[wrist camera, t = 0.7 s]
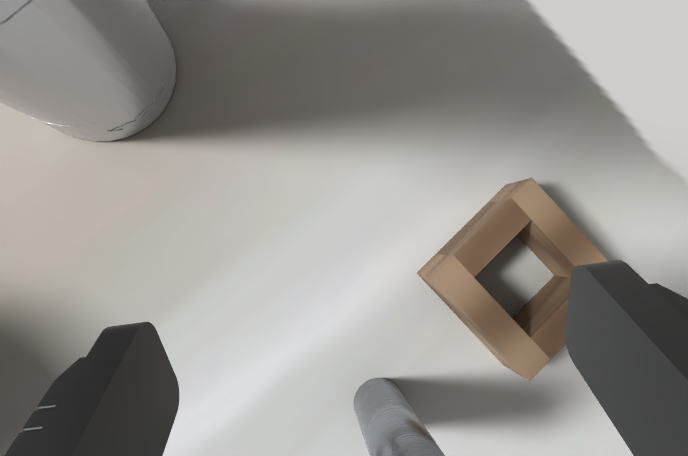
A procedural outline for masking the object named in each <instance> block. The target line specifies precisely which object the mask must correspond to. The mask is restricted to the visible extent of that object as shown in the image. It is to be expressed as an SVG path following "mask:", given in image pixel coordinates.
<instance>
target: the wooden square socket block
mask: <svg viewBox="0 0 688 456" xmlns="http://www.w3.org/2000/svg"><path fill="white" fill-rule="evenodd" d="M516 235H518V236H519V237H520V238H521V239H522V241H523V242H524V243H525V244H526V245H527V246H528V247H529V248H530V249H531V250H532V251H533V252H534V254H535V255H536V256H537V257H538V258H539V259H540V260H541V261H542V262H543V263H544V264H545V265H546V267H547V268H548V269H549V270H550V271H551V272H552V273H553V274H554V275H555V276H554V277H553V278H552V279H551V280H550V281H549V282H548V283H547V284H546V285H545V286H544V287H543V288H542V289H541V290H540V291H539V292H538V293H537V294H536V295H535V296H534V297H533V298H532V299H531V300H530V301H529V302H528V303H527V305H526V306H525V307H524V308H523V309H522V310H521V311H520V312H519V313H518V314H517V315H516V316H515V317H514V318H513V319H512V318H511V317H510V315H509V314H508V313H507V312H506V311H505V310H504V309H503V308H502V307H501V306H500V305H499V304H498V303H497V302H496V301H495V299H494V298H493V297H492V296H491V295H490V294H489V293H488V292H487V291H486V290H485V289H484V288H483V287H482V286H481V284H480V283H479V282H478V281H477V280H476V279H475V278H474V277H475V276H476V275H477V274H478V273H479V272H480V271H481V270H482V269H483V268H484V267H485V266H486V265H487V264H488V263H489V262H490V261H491V260H492V259H493V258H494V257H495V256H496V255H497V254H498V253H499V252H500V251H501V250H502V249H503V248H504V247H505V246H506V245H507V244H508V243H509V242H510V241H511V240H512V239H513V238H514V237H515V236H516ZM601 262H608V260H607V259H606V258H605V257H604V256H603V255H602V254H601V253H600V252H599V251H598V249H597V248H596V247H595V246H594V245H593V244H592V243H591V242H590V241H589V240H588V238H587V237H586V236H585V235H584V234H583V233H582V232H581V231H580V230H579V229H578V228H577V226H576V225H575V224H574V223H573V222H572V221H571V220H570V219H569V218H568V217H567V215H566V214H565V213H564V212H563V211H562V210H561V209H560V208H559V207H558V206H557V205H556V203H555V202H554V201H553V200H552V199H551V198H550V197H549V196H548V195H547V194H546V192H545V191H544V190H543V189H542V188H541V187H540V186H539V185H538V184H537V183H536V182H535V180H534V179H533V178H529V179H526V180H522V181H518V182H515V183H511V184H508V185H506V186H505V187H503V188H502V189H501V190H500V191H499V192H498V193H497V194H496V195H495V196H494V197H493V198H492V199H491V200H490V201H489V202H488V203H487V204H486V205H485V206H484V207H483V208H482V209H481V210H480V211H479V212H478V213H477V214H476V215H475V216H474V217H473V218H472V219H471V220H470V221H469V222H468V223H467V224H466V225H465V226H464V227H463V228H462V229H461V230H460V231H459V232H458V233H457V234H456V235H455V236H454V237H453V238H452V239H451V240H450V241H449V242H448V243H447V244H446V245H445V246H444V247H443V248H442V249H441V250H440V251H439V252H438V253H437V254H436V255H435V256H434V257H433V258H432V259H431V260H430V261H428V262H427V263H426V264H425V265H424V266H423V267H422V268H421V269H420V270H419V271H418V272H417V274H418V275H419V276H420V277H421V278H422V279H423V280H424V281H425V282H426V283H427V284H428V285H429V286H430V287H431V289H432V290H433V291H434V292H435V293H436V294H437V295H438V296H439V297H440V298H441V299H442V300H443V301H444V302H445V303H446V304H447V306H448V307H449V308H450V309H451V310H452V311H453V312H454V313H455V314H456V315H457V316H458V317H459V318H460V319H461V320H462V321H463V323H464V324H465V325H466V326H467V327H468V328H469V329H470V330H471V331H472V332H473V333H474V334H475V335H476V336H477V337H478V338H479V340H480V341H481V342H482V343H483V344H484V345H485V346H486V347H487V348H488V349H489V350H490V351H491V352H492V353H493V354H494V355H495V357H496V358H497V359H498V360H499V361H500V362H501V363H502V364H503V365H504V366H506V367H507V368H509V369H511V370H512V371H514V372H516V373H517V374H519V375H521V376H523V377H524V378H526V379H528V380H529V381H530V380H531V379H532V378H533V377H534V376H535V375H536V374H537V373H538V372H539V371H540V370H541V369H542V368H543V367H544V366H545V364H546V363H547V362H548V361H549V360H550V359H551V358H552V357H553V356H554V355H555V354H556V353H557V352H558V351H559V350H560V349H561V348H562V347H563V346H564V344H565V343H566V339H565V324H566V316H567V308H568V299H569V291H570V282H571V275H572V271H573V269H574V268H575V267H576V266H578V265H586V264H593V263H601Z"/></svg>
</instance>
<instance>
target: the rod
mask: <svg viewBox="0 0 688 456" xmlns="http://www.w3.org/2000/svg"><path fill="white" fill-rule="evenodd" d="M354 410H355V413H356V416H357V419H358V422H359V425H360V427H361V430H362V433H363V436H364V439H365V442H366V445H367V448H368V451H369V454H370V456H445V455H444V454H443V452H442V451H441V449H440V448H439V447H438V445H437V444H436V442H435V441H434V439H433V438H432V436H431V435H430V434H429V432H428V431H427V429H426V428H425V426H424V425H423V424H422V422H421V421H420V419H419V418H418V416H417V415H416V413H415V412H414V411H413V409H412V408H411V406H410V405H409V403H408V402H407V400H406V399H405V398H404V396H403V395H402V393H401V392H400V390H399V389H398V387H397V386H396V385H395V384H394V383H392V382H391V381H389V380H387V379H383V378H375V379H371V380H368V381H367V382H365V383H364V384H362V385H361V386H360V388H359V389H358V390H357V392H356V395H355V398H354Z"/></svg>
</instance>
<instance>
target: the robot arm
mask: <svg viewBox="0 0 688 456" xmlns="http://www.w3.org/2000/svg"><path fill="white" fill-rule="evenodd" d="M176 69H177V68H176V61H175V54H174V51H173V48H172V45H171V43H170V40H169V38H168V36H167V35H166V33H165V31H164V30H163V28H162V26H161V25H160V23H159V22H158V20H157V18H156V17H155V15H154V13H153V12H152V10H151V9H150V7H149V5H148V3H147V1H146V0H0V102H1V103H3V104H5V105H7V106H9V107H11V108H13V109H15V110H17V111H20V112H22V113H24V114H25V115H27V116H30V117H32V118H34V119H36V120H38V121H40V122H42V123H44V124H46V125H49V126H51V127H53V128H55V129H57V130H59V131H61V132H64V133H66V134H68V135H71V136H73V137H76V138H79V139H84V140H89V141H112V140H117V139H122V138H126V137H128V136H131V135H133V134H135V133H138V132H140V131H141V130H143V129H144V128H146V127H147V126H148V125H150V124H151V123H153V121H154V120H155V119H156V118H157V117H158V116H159V115H160V114H161V113H162V112H163V110H164V109H165V107H166V105H167V103H168V102H169V100H170V98H171V95H172V92H173V89H174V86H175V80H176ZM565 339H566V344H567V348H568V351H569V354H570V357H571V359H572V361H573V363H574V364H575V366H576V367H577V369H578V370H579V372H580V374H581V375H582V377H583V378H584V380H585V381H586V383H587V384H588V386H589V387H590V389H591V390H592V392H593V394H594V395H595V397H596V398H597V400H598V401H599V403H600V404H601V406H602V407H603V409H604V410H605V412H606V414H607V415H608V417H609V418H610V420H611V421H612V423H613V424H614V426H615V427H616V429H617V430H618V432H619V433H620V435H621V437H622V438H623V440H624V441H625V443H626V444H627V446H628V447H629V449H630V450H631V452H632V453H633V455H634V456H688V299H687V298H685V297H683V296H681V295H679V294H677V293H675V292H673V291H671V290H669V289H667V288H665V287H663V286H661V285H659V284H657V283H656V284H648V283H647V282H646V281H645V280H644V279H642V278H641V277H640V276H639V275H638V274H637V273H636V272H635V271H634V270H633V269H632V268H631V267H630V266H629V265H628V264H626V263H625V262H623V261H620V260H616V261H608V262H601V263H593V264H586V265H578V266H576V267H575V268H574V269H573V271H572V275H571V282H570V291H569V299H568V308H567V316H566V324H565ZM178 405H179V386H178V381H177V378H176V376H175V373H174V371H173V369H172V366H171V364H170V361H169V359H168V357H167V354H166V352H165V350H164V347H163V345H162V343H161V340H160V338H159V336H158V333H157V331H156V329H155V327H154V326H153V325H152V324H151V323H150V322H142V323H134V324H127V325H119V326H112V327H107V328H105V329H104V330H103V331H102V333H101V334H100V336H99V337H98V339H97V341H96V342H95V344H94V345H93V347H92V349H91V350H90V352H89V353H88V355H87V357H83V358H79V359H78V360H77V361H76V362H75V363H74V364H73V365H72V366H70V367H69V368H68V369H67V370H66V371H65V372H64V373H63V374H62V375H60V376H59V377H58V378H57V379H56V380H55V381H54V383H53V384H52V386H51V387H50V389H49V390H48V392H47V393H46V395H45V396H44V398H43V399H42V401H41V402H40V404H39V405H38V411H34V412H33V414H32V415H31V417H30V418H29V420H28V421H27V423H26V424H25V426H24V427H23V428H24V432H23V433H19V435H18V436H17V438H16V439H15V441H14V442H13V444H12V445H11V447H10V448H9V450H8V451H7V453H6V454H5V456H162V455H163V452H164V449H165V446H166V443H167V440H168V438H169V435H170V432H171V429H172V426H173V423H174V420H175V417H176V414H177V410H178Z"/></svg>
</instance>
